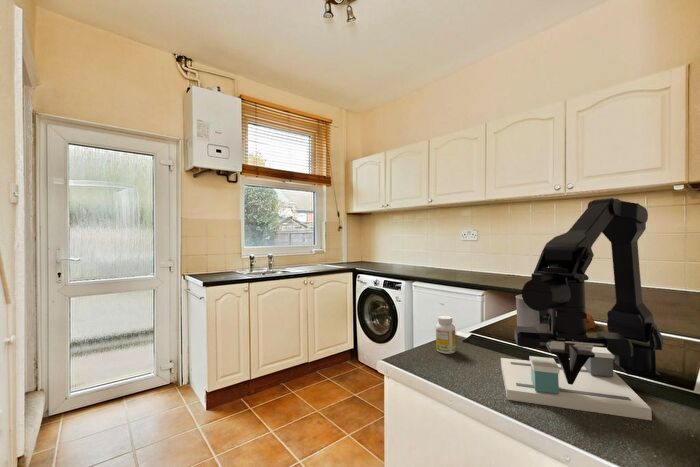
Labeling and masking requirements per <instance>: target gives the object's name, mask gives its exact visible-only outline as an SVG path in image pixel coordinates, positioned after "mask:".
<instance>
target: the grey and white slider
mask: <svg viewBox="0 0 700 467" xmlns="http://www.w3.org/2000/svg"><path fill="white" fill-rule="evenodd" d="M592 352H593V353H594V354H595V357H594V358H589V359H588V360H587V361H586V363H585V364H584V365H583V366H584V367H585V368H586V369H587V370H588V371H589V373H590V374H591V375H600V376H609V377H613V371H614V359H615V355H613V354H612V353H611V352H609V351H608V350H607V348H603V347H593V349H592Z"/></svg>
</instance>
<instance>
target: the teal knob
mask: <svg viewBox="0 0 700 467" xmlns="http://www.w3.org/2000/svg"><path fill="white" fill-rule="evenodd" d="M555 360H556V359H554V358H553V357H542V356H532V355H529V361H530V363H531V381H532V383H533V386H534V389H535V391H541V392H548V393H556V394H559V381H558V374H560V368H559V367H558V365H557V364H558V363H557V362H556V361H555Z"/></svg>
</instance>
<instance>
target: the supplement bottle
mask: <svg viewBox="0 0 700 467" xmlns="http://www.w3.org/2000/svg"><path fill="white" fill-rule="evenodd" d="M437 322H438V323H437V324H436V326H435V339H436V340H435V341H436V343H435V345H436V348H435V349H436V351H437V352H439V353H441V354H445V355H448V354H455V352H456V350H457V348H456V347H457V346H456V345H457V344H456V342H457V340H456V327H455V326H456V325H454V324H453V317H452V316H449V315H439V316H438V317H437Z"/></svg>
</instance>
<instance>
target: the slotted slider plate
mask: <svg viewBox="0 0 700 467" xmlns="http://www.w3.org/2000/svg"><path fill="white" fill-rule="evenodd" d="M557 365H558V367H559V368H560V374H558V381H559V394H556V393H548V392H541V391H535V389H534V386H533V383H532V381H531V363H530V360H526V359H517V358H516V359H515V358H505V357H500V369H501V374H502V378H503V384H504V389H505V395H506V396H505V397H506V400H507V401H508V400H509V401H514V402H515V401H516V402H520V403H522V402H523V403H528V404H535V405H543V406H550V407H557V408H562V409H564V408H565V409H568V410H569V409H570V410H577V411H584V412H592V413H598V414H605V415H611V416H618V417H619V416H620V417H626V418H631V419H632V418H633V419H638V420H647V421H652V420H653V419H652V418H653V417H652V408H651V407H650V406H649V405H648V404H647V403H646V402H645V401H644V400H643V399H642V398H641V397H640V396H639V395H638V394H637V393H636V392H635V391H634V390H633V389H632V388H631V387H630V386H629V385H628V384H627V383H626V382H625V381H624V380H623V379H622V378H621V377H620V376H619V375H618V374H617V373H616V372H615V371H614V370H613V377H609V376H600V375H591V374H590V373H589V371H588V370H587V369H586V368H585V367H584V365H583V367H582V368H581V370H580V372H579V374H578V376H577V378H576V379H575V381H574V383H573V385H571V384H568V383H567V380H566V378H565V375H564V373H563V370H562V367H561V365H560V363H557Z"/></svg>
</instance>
